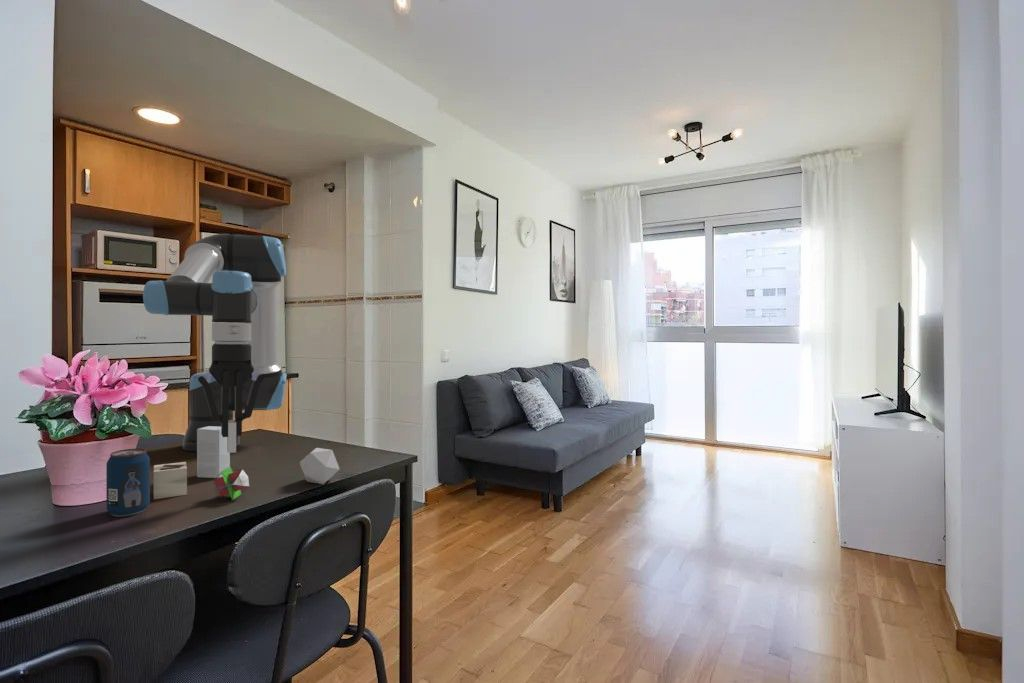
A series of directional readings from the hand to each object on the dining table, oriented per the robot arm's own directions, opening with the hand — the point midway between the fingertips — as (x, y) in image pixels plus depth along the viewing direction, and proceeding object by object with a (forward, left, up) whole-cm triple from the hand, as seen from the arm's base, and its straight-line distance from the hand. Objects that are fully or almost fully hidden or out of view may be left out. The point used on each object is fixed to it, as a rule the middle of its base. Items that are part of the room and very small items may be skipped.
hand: (231, 451), depth 111 cm
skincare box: (-20, -2, -10) cm, 23 cm away
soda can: (-1, -18, -10) cm, 21 cm away
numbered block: (-10, -11, -10) cm, 18 cm away
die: (-2, +19, -10) cm, 22 cm away
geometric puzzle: (0, 0, -10) cm, 10 cm away
